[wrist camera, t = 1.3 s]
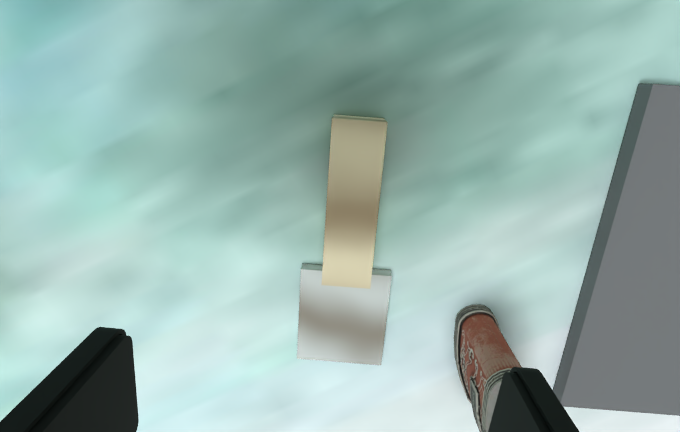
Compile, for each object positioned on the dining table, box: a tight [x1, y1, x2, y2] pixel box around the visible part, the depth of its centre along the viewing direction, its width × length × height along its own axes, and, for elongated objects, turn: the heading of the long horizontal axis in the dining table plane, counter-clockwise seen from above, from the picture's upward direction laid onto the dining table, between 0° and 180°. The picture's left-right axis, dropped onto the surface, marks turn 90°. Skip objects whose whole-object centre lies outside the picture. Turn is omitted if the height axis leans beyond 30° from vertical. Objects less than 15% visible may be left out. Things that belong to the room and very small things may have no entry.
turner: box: [297, 115, 392, 365], centre depth 26 cm, size 17×6×3 cm, turn 176°
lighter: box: [454, 305, 521, 432], centre depth 25 cm, size 8×3×10 cm, turn 11°
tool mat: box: [553, 84, 680, 416], centre depth 26 cm, size 22×10×1 cm, turn 176°
